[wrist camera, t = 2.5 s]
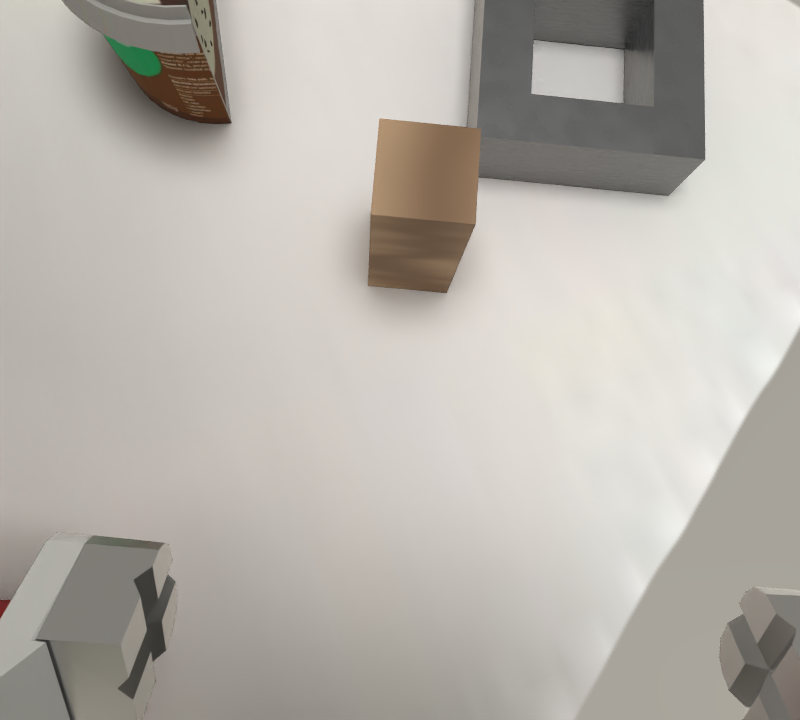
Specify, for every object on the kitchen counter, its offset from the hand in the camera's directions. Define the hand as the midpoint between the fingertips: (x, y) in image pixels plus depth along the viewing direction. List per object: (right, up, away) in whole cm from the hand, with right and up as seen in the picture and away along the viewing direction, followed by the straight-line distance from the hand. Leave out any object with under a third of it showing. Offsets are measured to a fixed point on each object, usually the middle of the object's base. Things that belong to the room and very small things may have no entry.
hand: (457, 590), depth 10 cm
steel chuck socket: (+8, +18, +28) cm, 34 cm away
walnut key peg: (0, +9, +26) cm, 27 cm away
